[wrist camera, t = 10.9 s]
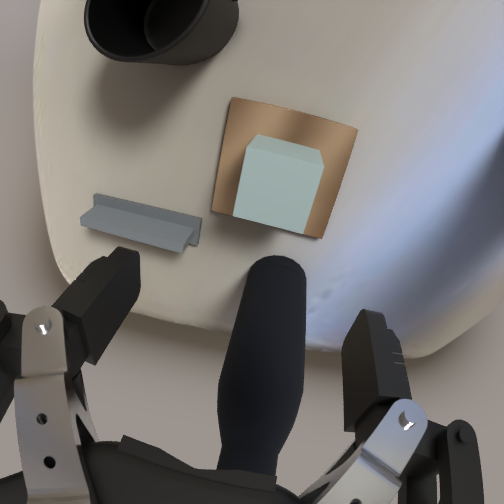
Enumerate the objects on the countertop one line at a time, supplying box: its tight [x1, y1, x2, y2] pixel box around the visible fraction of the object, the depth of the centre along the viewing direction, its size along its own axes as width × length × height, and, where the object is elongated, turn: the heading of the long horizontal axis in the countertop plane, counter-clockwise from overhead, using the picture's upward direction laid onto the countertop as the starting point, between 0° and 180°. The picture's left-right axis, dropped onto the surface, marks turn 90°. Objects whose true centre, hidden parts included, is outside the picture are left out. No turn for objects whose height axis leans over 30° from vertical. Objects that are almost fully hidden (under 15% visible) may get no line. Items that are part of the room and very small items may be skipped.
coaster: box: [211, 97, 358, 239], centre depth 27 cm, size 11×11×1 cm
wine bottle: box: [216, 255, 306, 476], centre depth 21 cm, size 6×6×30 cm
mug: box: [84, 0, 239, 65], centre depth 16 cm, size 9×12×9 cm
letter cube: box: [233, 134, 324, 234], centre depth 24 cm, size 6×6×6 cm
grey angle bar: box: [80, 193, 202, 254], centre depth 30 cm, size 13×3×4 cm, turn 78°
